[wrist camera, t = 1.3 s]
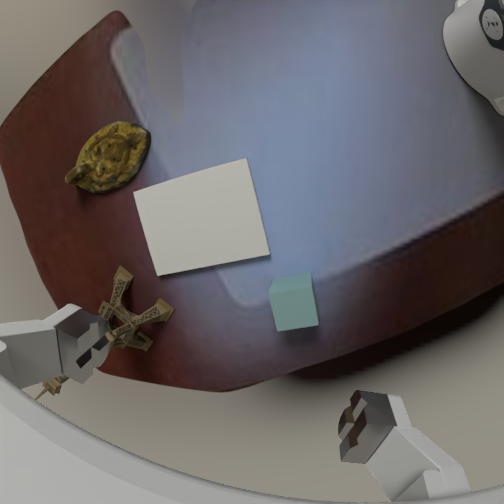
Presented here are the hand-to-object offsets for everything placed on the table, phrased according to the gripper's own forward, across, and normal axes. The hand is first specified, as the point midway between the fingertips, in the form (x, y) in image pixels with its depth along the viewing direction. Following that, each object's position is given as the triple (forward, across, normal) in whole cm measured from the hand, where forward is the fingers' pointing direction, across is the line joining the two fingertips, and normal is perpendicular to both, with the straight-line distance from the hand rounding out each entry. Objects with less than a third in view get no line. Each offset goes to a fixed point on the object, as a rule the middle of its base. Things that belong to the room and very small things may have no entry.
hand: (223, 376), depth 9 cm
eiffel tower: (+31, +18, +19) cm, 41 cm away
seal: (+31, +25, -4) cm, 40 cm away
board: (+30, +10, +2) cm, 32 cm away
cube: (+30, -4, +8) cm, 32 cm away
